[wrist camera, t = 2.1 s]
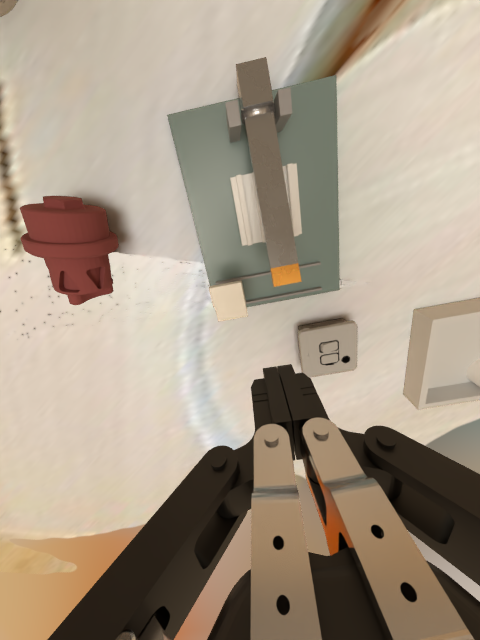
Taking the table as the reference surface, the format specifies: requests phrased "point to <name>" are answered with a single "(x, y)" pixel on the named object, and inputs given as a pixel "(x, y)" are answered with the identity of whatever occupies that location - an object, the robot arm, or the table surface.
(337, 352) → the electrical switch
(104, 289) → the mechanical component
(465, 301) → the tray
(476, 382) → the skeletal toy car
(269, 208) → the lever
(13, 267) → the table surface
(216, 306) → the cream block
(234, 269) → the board
